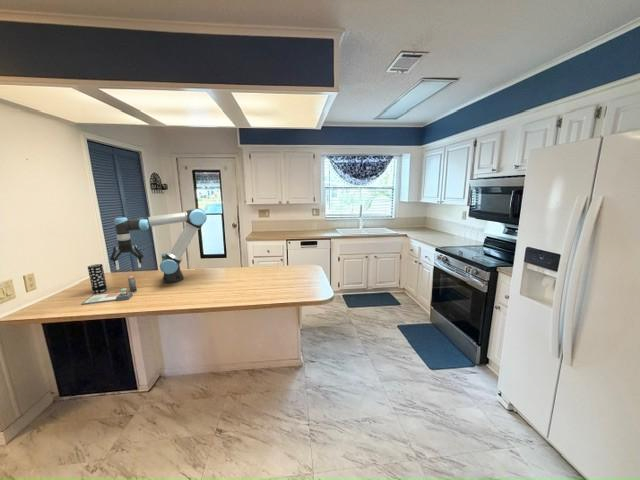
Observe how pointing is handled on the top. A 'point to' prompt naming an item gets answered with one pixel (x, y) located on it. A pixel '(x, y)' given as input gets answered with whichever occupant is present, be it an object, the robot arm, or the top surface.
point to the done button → (123, 291)
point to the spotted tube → (97, 278)
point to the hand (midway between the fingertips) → (129, 268)
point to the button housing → (124, 296)
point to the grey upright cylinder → (132, 283)
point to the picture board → (101, 298)
